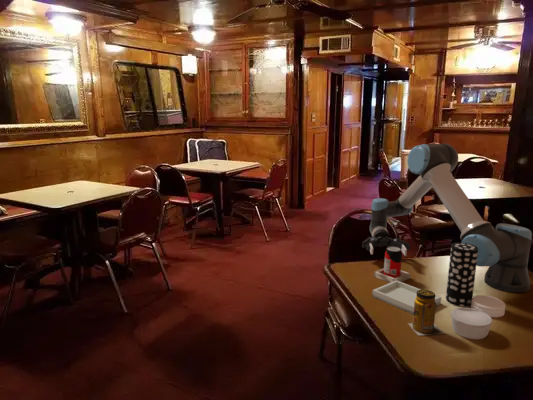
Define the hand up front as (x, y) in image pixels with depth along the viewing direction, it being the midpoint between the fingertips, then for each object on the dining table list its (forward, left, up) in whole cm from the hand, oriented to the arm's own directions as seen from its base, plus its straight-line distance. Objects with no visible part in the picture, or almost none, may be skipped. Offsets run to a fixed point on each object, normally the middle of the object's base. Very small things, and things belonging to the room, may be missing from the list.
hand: (388, 252), depth 172 cm
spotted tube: (-34, +6, -7) cm, 35 cm away
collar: (-7, +7, -7) cm, 12 cm away
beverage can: (-7, +7, -7) cm, 12 cm away
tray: (-22, +20, -7) cm, 30 cm away
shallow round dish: (-43, +5, -8) cm, 44 cm away
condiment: (-37, +32, -7) cm, 49 cm away
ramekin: (-46, +23, -7) cm, 52 cm away
